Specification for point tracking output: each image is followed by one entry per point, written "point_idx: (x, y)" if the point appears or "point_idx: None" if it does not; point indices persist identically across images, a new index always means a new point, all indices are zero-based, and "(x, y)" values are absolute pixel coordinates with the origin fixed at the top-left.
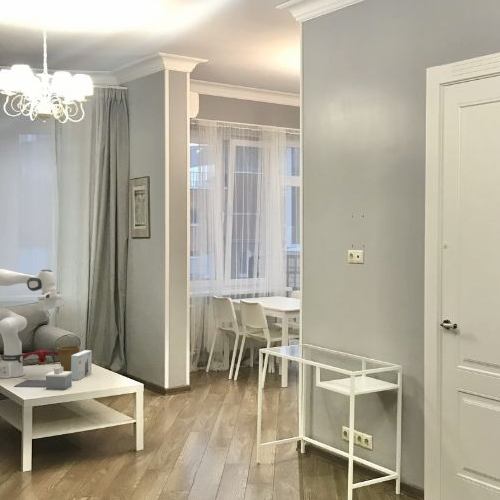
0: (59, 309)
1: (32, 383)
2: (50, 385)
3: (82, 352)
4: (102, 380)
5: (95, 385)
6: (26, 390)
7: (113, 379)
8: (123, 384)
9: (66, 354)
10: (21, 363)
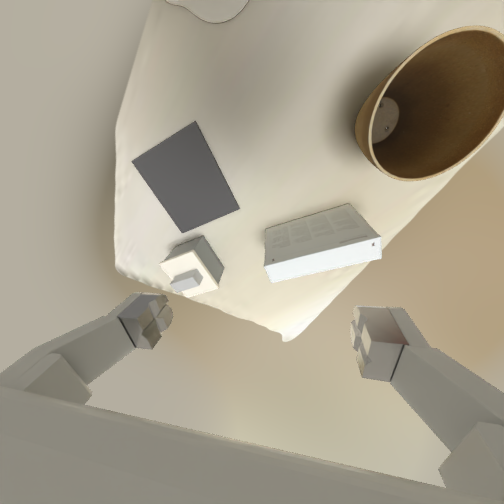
0: (429, 422)
1: (179, 182)
2: None
3: (326, 261)
4: (293, 284)
5: (252, 296)
6: (141, 219)
7: (310, 294)
8: (282, 323)
9: (364, 151)
10: None
